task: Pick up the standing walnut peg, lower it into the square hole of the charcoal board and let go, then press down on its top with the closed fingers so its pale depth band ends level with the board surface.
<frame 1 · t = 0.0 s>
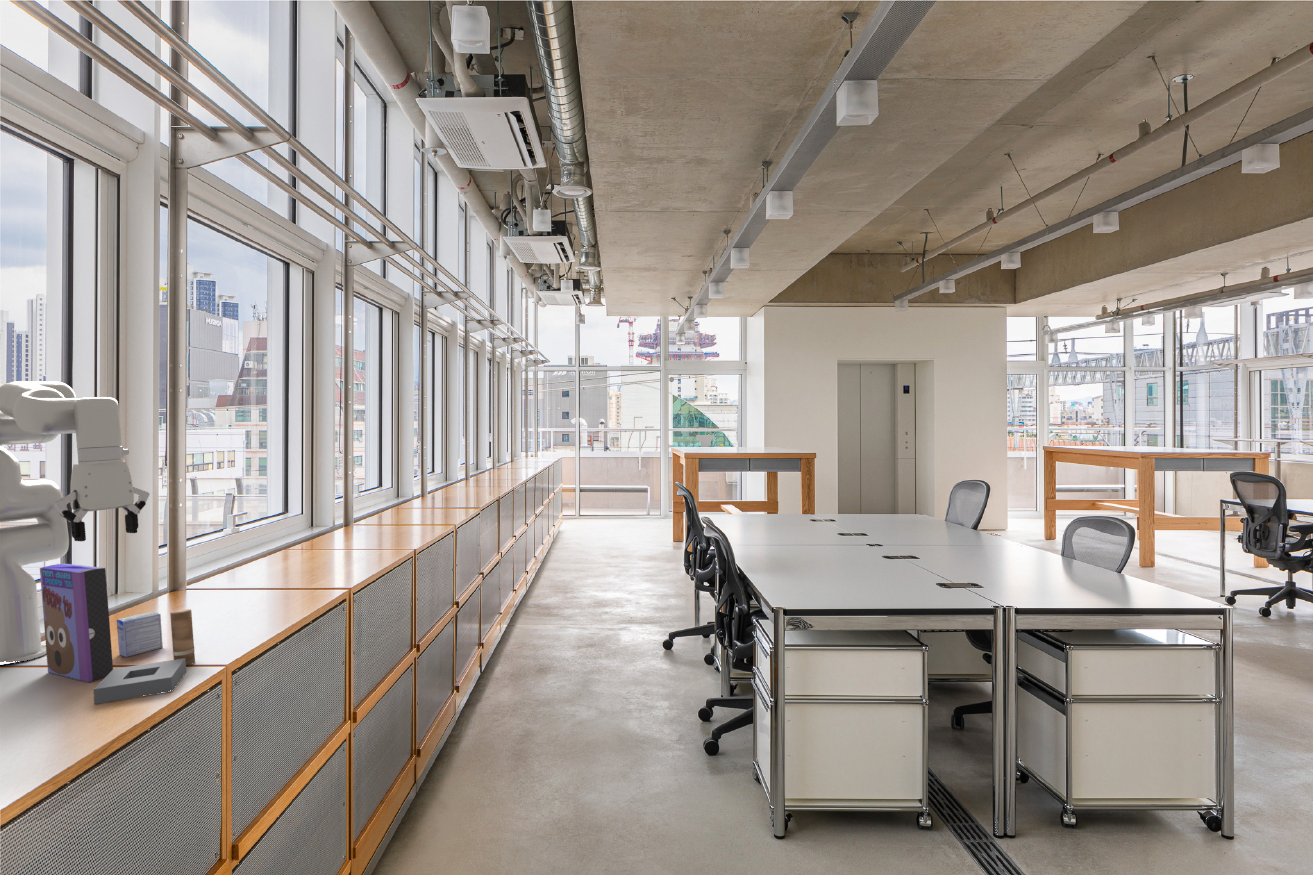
hand: (106, 536, 154), 31 cm above the cabinet, tool pointing down, fingers open, 9 cm apart
board: (142, 687, 151), on the cabinet
peg: (184, 663, 165), on the cabinet
cereal box: (80, 675, 162), on the cabinet
medicine box: (141, 652, 177), on the cabinet
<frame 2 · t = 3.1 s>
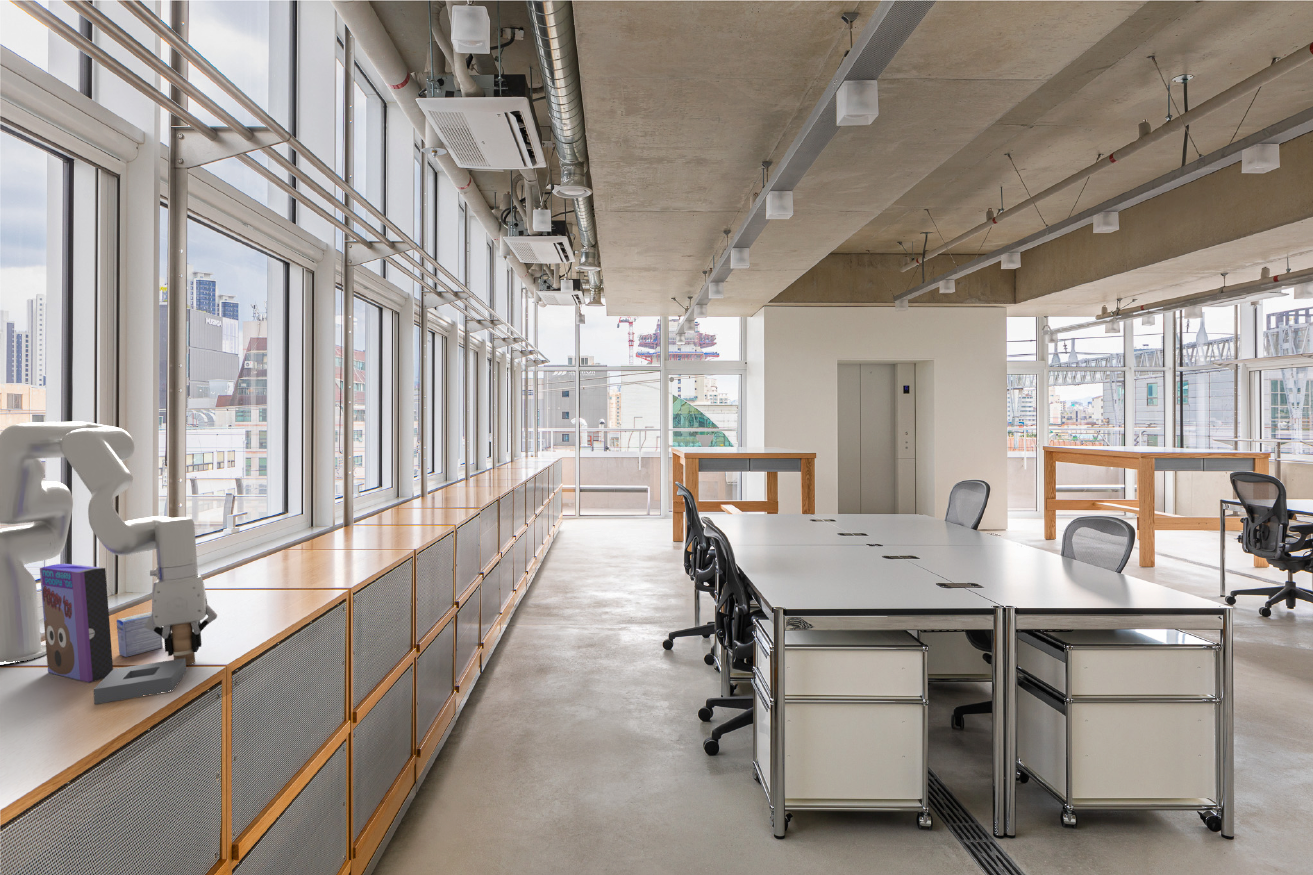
hand: (183, 651, 165), 3 cm above the cabinet, tool pointing down, fingers closed on peg, 4 cm apart
peg: (184, 663, 165), on the cabinet, touching gripper
everything else where it was.
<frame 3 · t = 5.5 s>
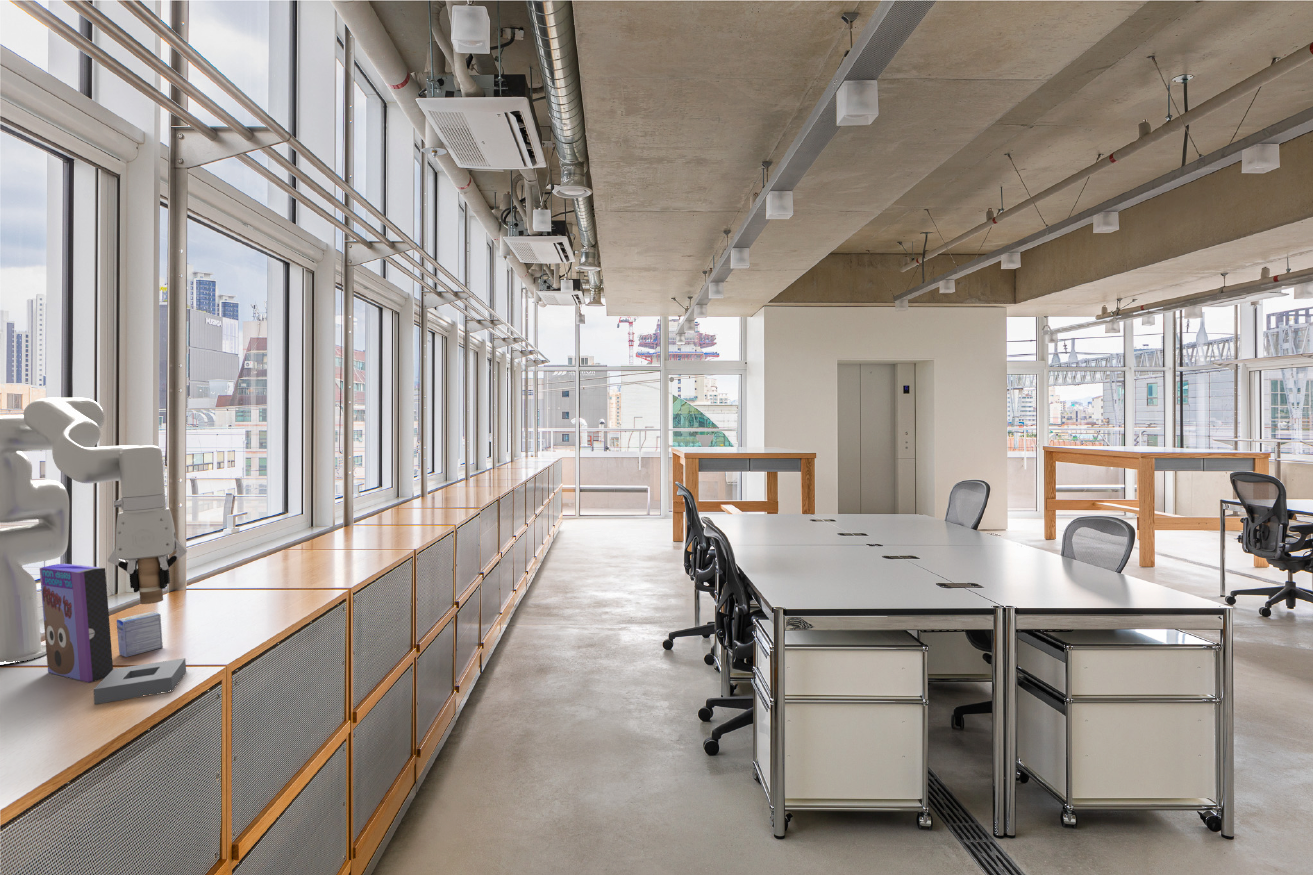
hand: (150, 588, 155), 20 cm above the cabinet, tool pointing down, fingers closed on peg, 4 cm apart
peg: (151, 601, 155), point 17 cm above the cabinet, touching gripper
everything else where it was.
when the fingers open (4 cm above the cabinet, at t = 8.1 s): peg drops 1 cm, resting in board.
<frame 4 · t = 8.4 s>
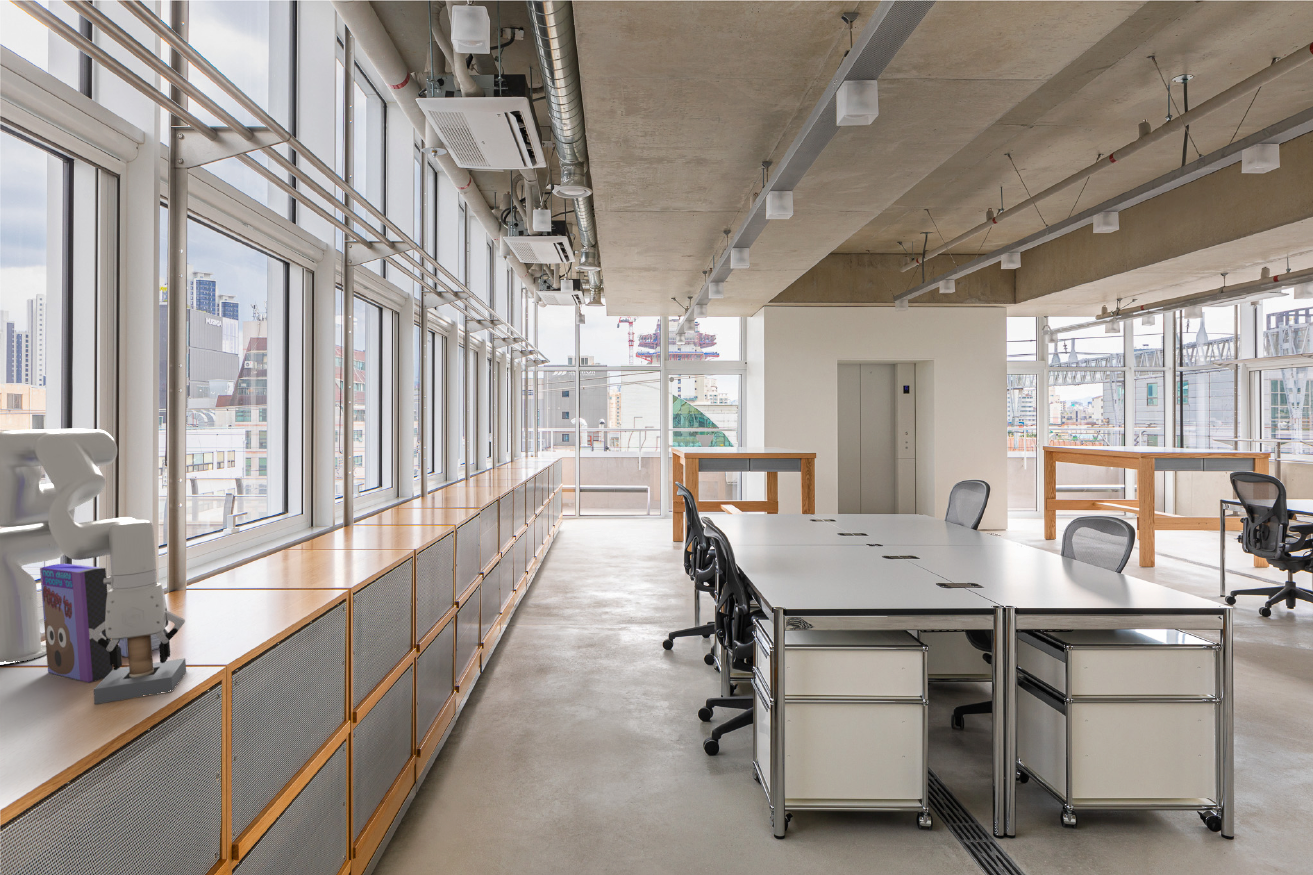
hand: (141, 663, 151), 5 cm above the cabinet, tool pointing down, fingers open, 7 cm apart
peg: (142, 687, 151), resting in board
everything else where it was.
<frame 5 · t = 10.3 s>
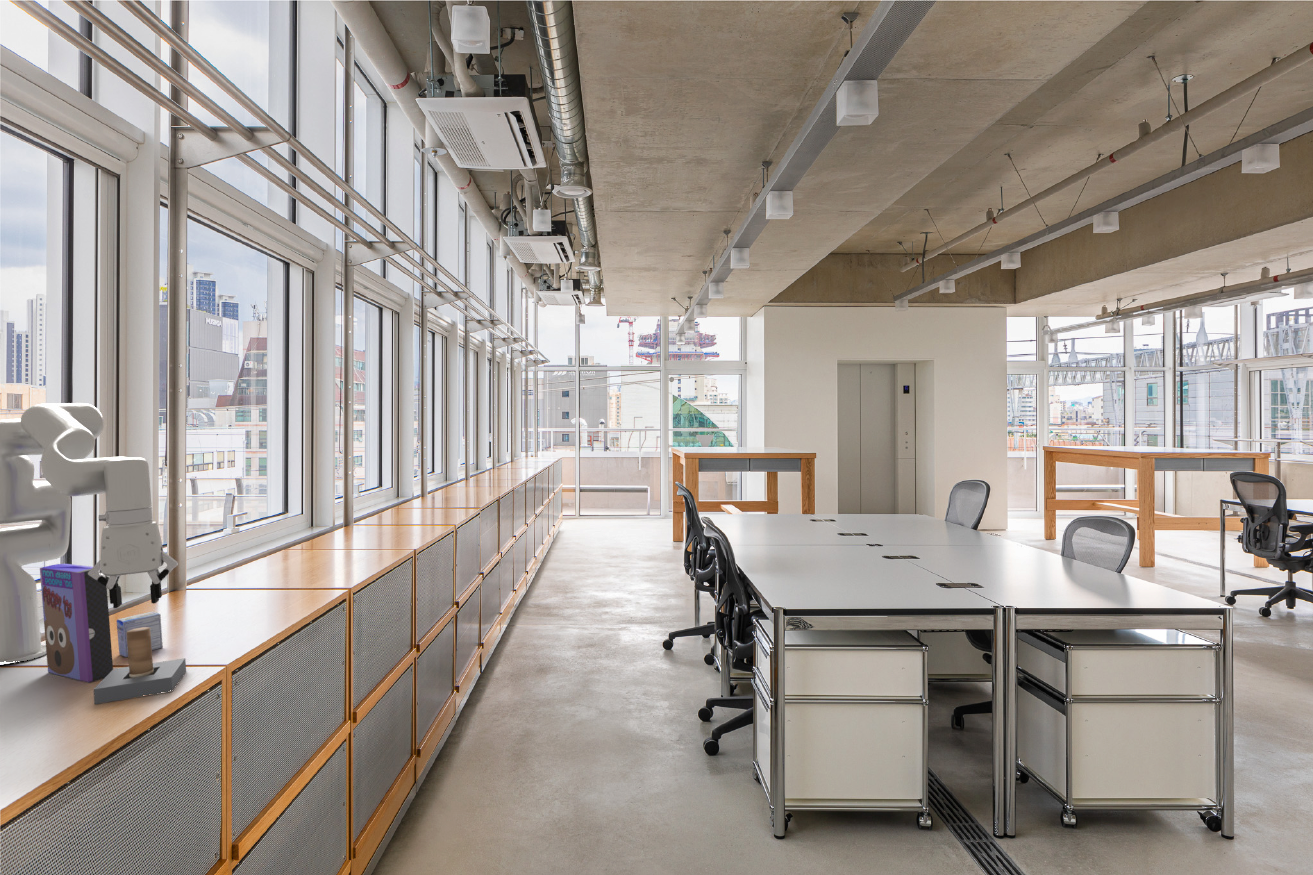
hand: (136, 603, 151), 18 cm above the cabinet, tool pointing down, fingers open, 5 cm apart
nothing on the cabinet moved.
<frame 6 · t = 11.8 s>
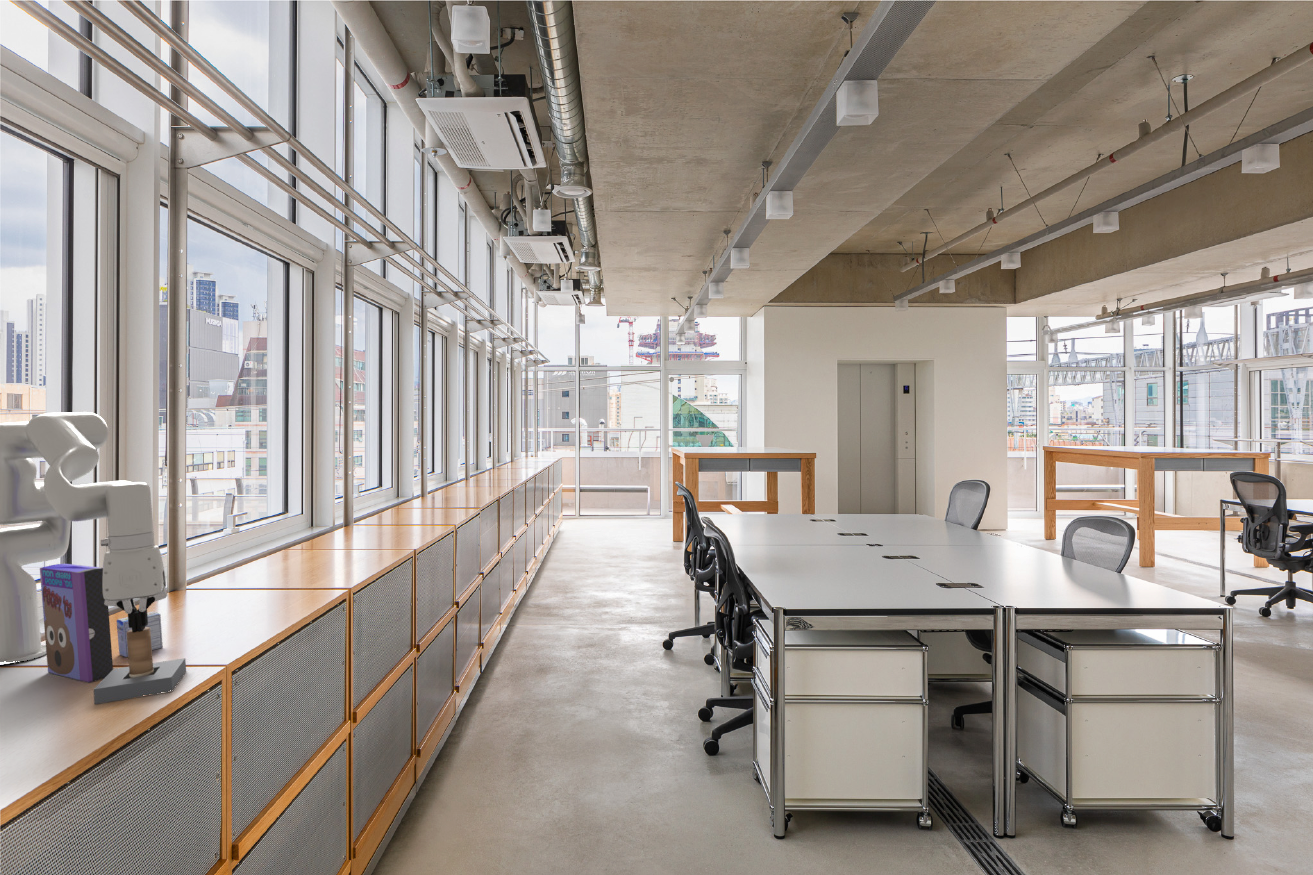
hand: (138, 630, 151), 12 cm above the cabinet, tool pointing down, fingers closed
peg: (142, 687, 151), resting in board, touching gripper
everything else where it was.
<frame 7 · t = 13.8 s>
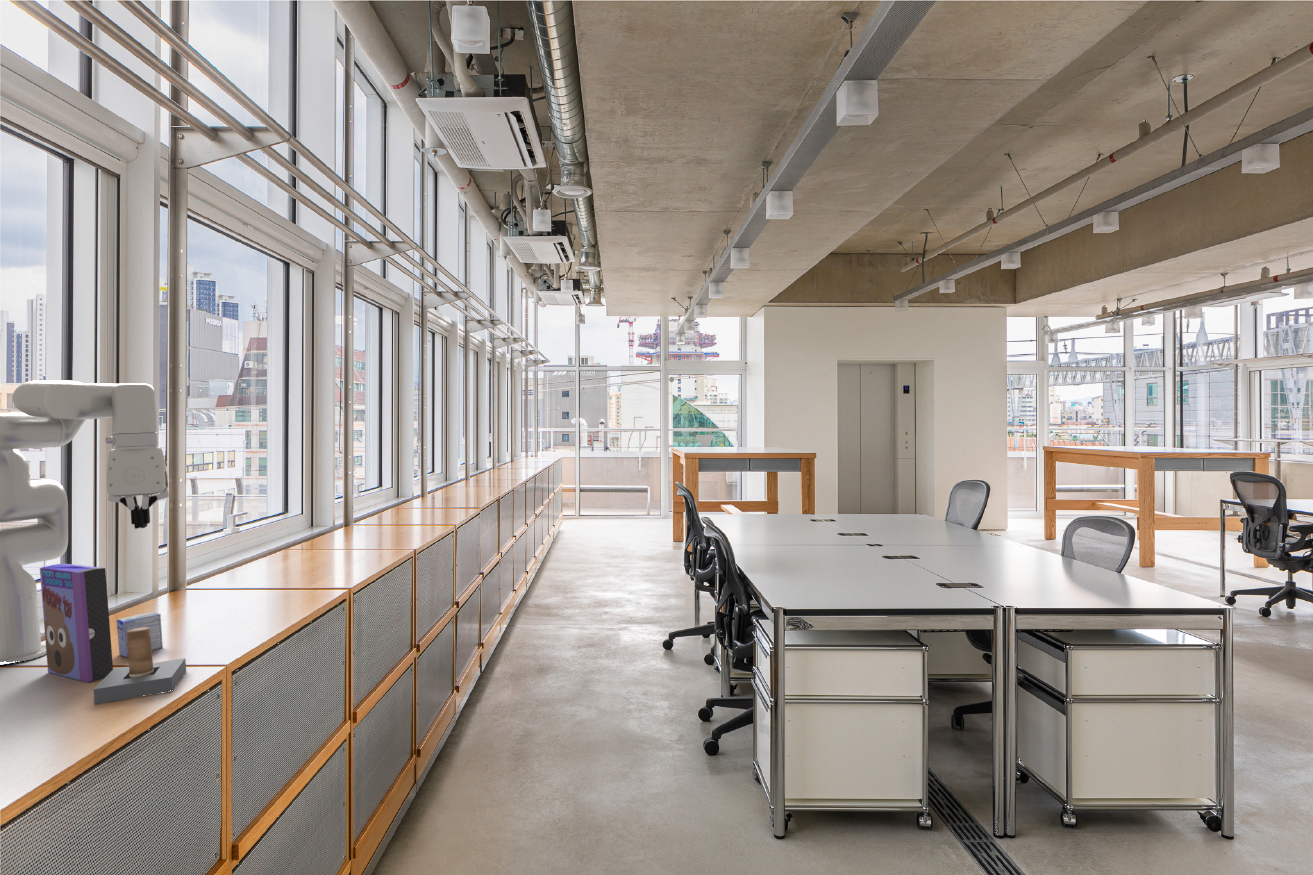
hand: (141, 527, 156), 33 cm above the cabinet, tool pointing down, fingers closed
peg: (142, 687, 151), resting in board
everything else where it was.
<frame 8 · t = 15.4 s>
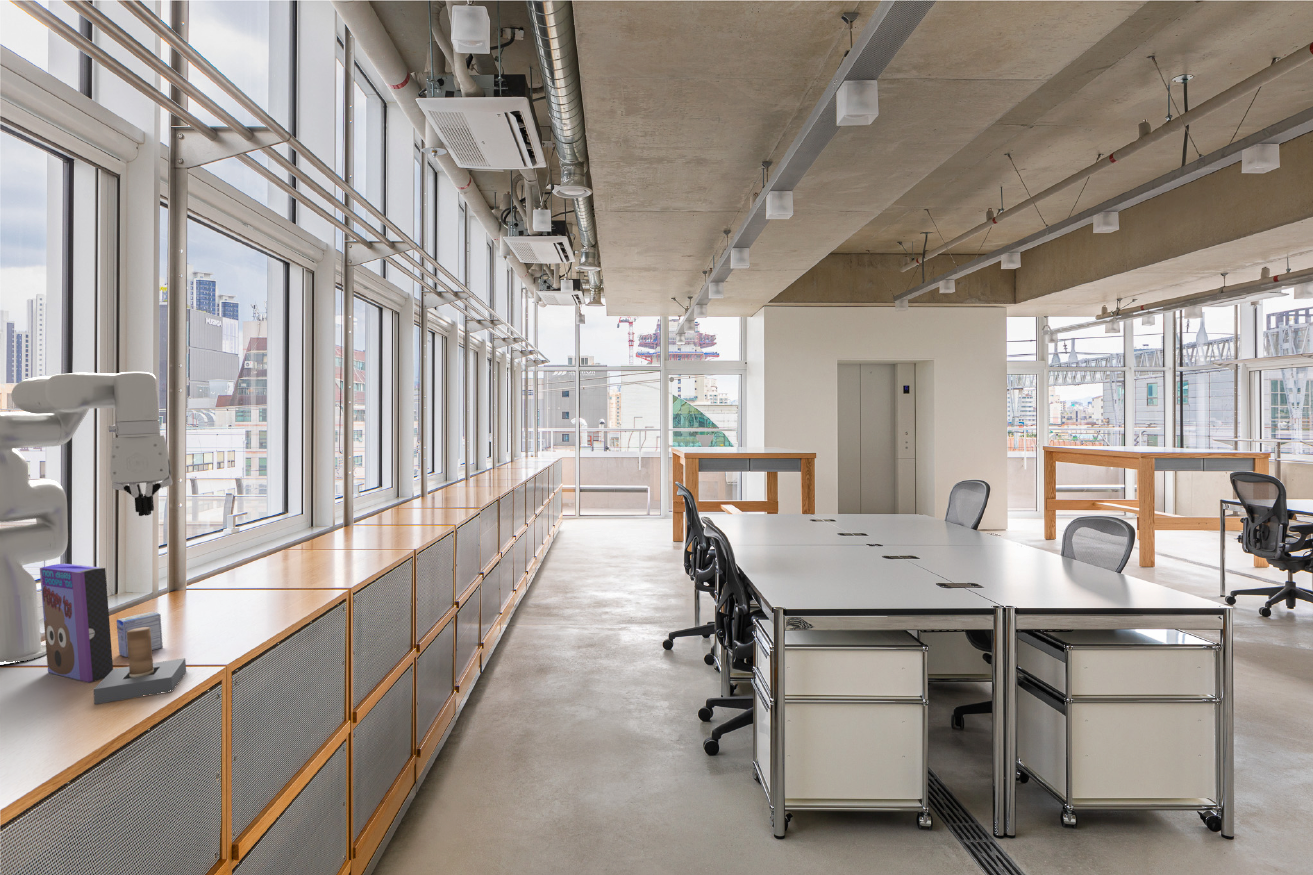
hand: (145, 514, 157), 35 cm above the cabinet, tool pointing down, fingers closed
nothing on the cabinet moved.
at the end: peg 0.1 cm off-centre on the board, point 0.0 cm above the board's base; peg tilted 0°; the gripper is holding nothing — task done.
